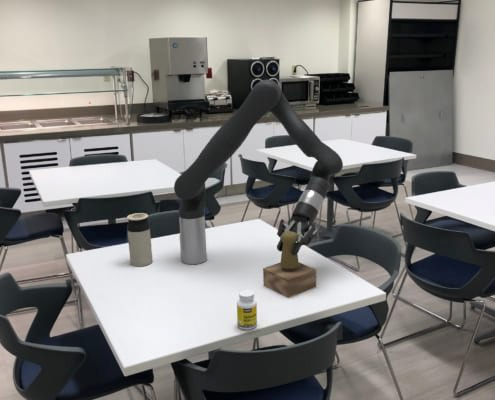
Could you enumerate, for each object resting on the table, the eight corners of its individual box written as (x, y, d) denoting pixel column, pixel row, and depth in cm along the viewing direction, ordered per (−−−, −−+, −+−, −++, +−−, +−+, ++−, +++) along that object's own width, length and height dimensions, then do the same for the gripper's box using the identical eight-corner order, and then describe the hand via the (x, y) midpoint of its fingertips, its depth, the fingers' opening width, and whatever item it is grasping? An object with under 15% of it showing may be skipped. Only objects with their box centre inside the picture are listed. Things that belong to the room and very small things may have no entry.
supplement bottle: (243, 332, 138) (241, 299, 136) (234, 323, 143) (233, 291, 140) (260, 327, 140) (259, 294, 138) (251, 318, 145) (250, 287, 143)
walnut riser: (263, 285, 166) (263, 268, 165) (290, 275, 173) (290, 258, 172) (288, 297, 157) (288, 279, 156) (316, 286, 164) (316, 269, 163)
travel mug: (155, 258, 192) (151, 212, 187) (149, 267, 184) (145, 219, 179) (134, 258, 193) (130, 212, 188) (127, 266, 185) (123, 219, 180)
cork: (298, 269, 160) (297, 236, 157) (279, 268, 161) (278, 235, 158) (300, 261, 166) (299, 229, 163) (281, 261, 167) (281, 229, 164)
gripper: (285, 197, 168) (262, 242, 163) (322, 204, 159) (299, 252, 154) (295, 209, 173) (273, 252, 168) (331, 216, 164) (309, 263, 159)
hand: (285, 252), depth 161 cm, fingers closed on cork, 5 cm apart
